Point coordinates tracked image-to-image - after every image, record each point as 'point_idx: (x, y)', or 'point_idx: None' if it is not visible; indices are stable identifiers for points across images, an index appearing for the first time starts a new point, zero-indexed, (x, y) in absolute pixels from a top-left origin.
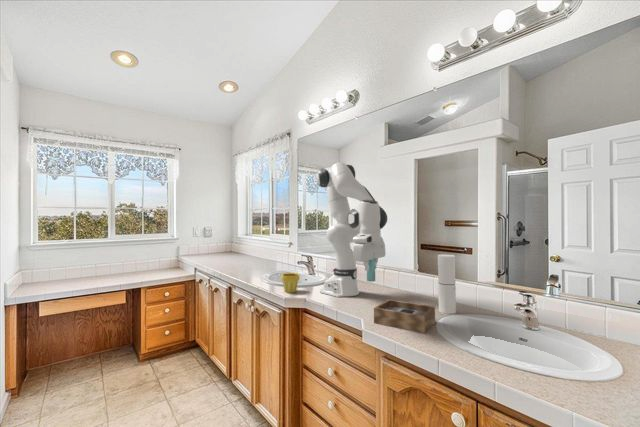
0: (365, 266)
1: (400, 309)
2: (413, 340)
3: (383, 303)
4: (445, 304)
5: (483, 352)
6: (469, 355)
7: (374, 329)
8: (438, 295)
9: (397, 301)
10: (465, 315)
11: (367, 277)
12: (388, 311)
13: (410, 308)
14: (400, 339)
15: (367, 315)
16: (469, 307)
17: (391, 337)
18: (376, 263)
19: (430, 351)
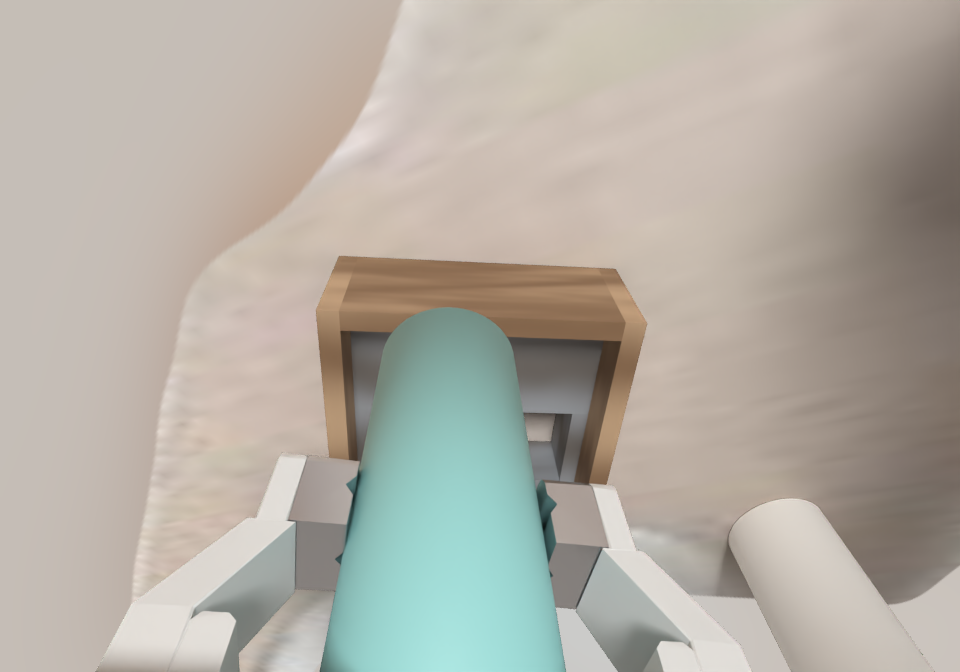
0: (258, 529)
1: (550, 403)
2: (233, 501)
3: None
4: (753, 577)
5: (304, 669)
6: (246, 648)
7: (226, 303)
8: (829, 582)
9: (607, 402)
10: (723, 594)
11: (382, 368)
12: (327, 416)
13: (581, 457)
14: (198, 457)
15: (477, 141)
16: (878, 591)
17: (187, 418)
18: (613, 642)
19: (174, 567)
